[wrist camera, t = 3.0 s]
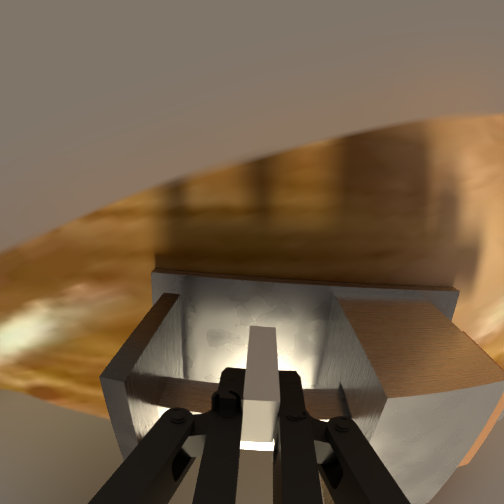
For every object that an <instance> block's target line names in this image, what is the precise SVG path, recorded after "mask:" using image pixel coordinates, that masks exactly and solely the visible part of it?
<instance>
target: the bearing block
mask: <svg viewBox="0 0 504 504" xmlns="http://www.w3.org/2000/svg"><path fill="white" fill-rule="evenodd" d="M151 278H152V300H153V306H154V304H155V303H156V302H157V300H158V299H159V298H160V297H161V295H162V294H163V293H173V294H180V302H181V337H182V359H183V377H184V379H188V380H196V381H204V382H213V383H219V381H220V377H221V372H222V371H223V370H224V369H225V368H226V367H232V368H244V369H246V362H247V351H248V341H249V330H250V326H264V327H276V339H277V354H278V370H287V371H296V372H297V373H298V374H299V375H300V377H301V382H302V388H305V389H343V390H344V393H345V396H346V400H347V403H348V406H349V409H350V412H351V416H352V420H353V421H354V422H355V423H356V424H357V425H358V427H359V428H360V430H361V431H362V433H363V434H364V436H365V437H366V439H367V440H368V442H369V443H370V445H371V446H372V447H373V449H374V450H375V452H376V453H377V455H378V456H379V458H380V459H381V461H382V462H383V464H384V465H385V467H386V468H387V470H388V471H389V472H390V474H391V475H392V477H393V478H394V480H395V481H396V483H397V484H398V486H399V487H400V489H401V490H402V492H403V493H404V494H405V496H406V497H407V499H408V500H409V502H410V503H411V504H425V503H428V502H429V501H430V500H431V499H432V498H433V497H434V495H435V494H436V493H437V492H438V491H439V490H440V488H441V487H442V486H443V485H444V483H445V482H446V481H447V480H448V478H449V477H450V476H451V475H452V473H453V472H454V471H455V469H456V468H457V467H458V465H459V464H460V463H461V461H462V460H463V458H464V457H465V455H466V454H467V453H468V451H469V450H470V448H471V447H472V445H473V444H474V442H475V441H476V439H477V438H478V436H479V434H480V433H481V431H482V430H483V428H484V426H485V425H486V423H487V421H488V420H489V418H490V416H491V415H492V413H493V411H494V409H495V407H496V406H497V404H498V402H499V400H500V398H501V396H502V394H503V392H504V372H503V371H502V370H501V369H500V368H499V367H498V366H497V365H496V364H495V363H494V362H493V361H492V360H491V359H490V358H489V357H488V356H487V355H486V354H485V353H484V352H483V351H482V350H481V349H480V348H479V347H478V346H477V345H476V344H475V343H474V342H473V341H472V340H471V339H470V338H469V337H467V336H466V335H465V334H464V333H463V332H462V331H461V330H460V329H459V328H458V327H457V326H456V325H455V324H454V323H452V322H451V321H452V317H453V314H454V310H455V307H456V303H457V300H458V296H459V292H460V291H458V290H457V289H456V288H453V287H426V286H402V285H381V284H362V283H344V282H327V281H311V280H296V279H281V278H267V277H253V276H240V275H227V274H214V273H202V272H190V271H179V270H168V269H157V268H155V269H154V270H153V271H152V272H151ZM320 477H321V475H320ZM321 484H322V490H323V497H324V504H335V503H334V501H333V499H332V497H331V495H330V493H329V491H328V489H327V487H326V485H325V483H324V481H323V479H322V477H321Z"/></svg>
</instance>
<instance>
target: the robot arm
mask: <svg viewBox="0 0 504 504" xmlns="http://www.w3.org/2000/svg"><path fill="white" fill-rule="evenodd" d="M241 441H243V442H257V443H273V441H274V448H273V453H272V459H271V461H273V504H323V502H322V495H321V487H320V480H319V473H320V475H321V477H322V479H323V481H324V483H325V485H326V487H327V489H328V491H329V493H330V495H331V497H332V499H333V501H334V503H335V504H411V503H410V502H409V500H408V499H407V497H406V496H405V494H404V493H403V492H402V490H401V489H400V487H399V486H398V484H397V483H396V481H395V480H394V478H393V477H392V475H391V474H390V472H389V471H388V470H387V468H386V467H385V465H384V464H383V462H382V461H381V459H380V458H379V456H378V455H377V453H376V452H375V450H374V449H373V447H372V446H371V445H370V443H369V442H368V440H367V439H366V437H365V436H364V434H363V433H362V431H361V430H360V428H359V427H358V425H357V424H356V423H355V422H354V421H353V420H352V419H350V418H348V417H344V416H336V417H333V418H331V419H330V420H329V421H328V422H326V421H321V420H318V419H315V418H313V417H311V416H310V415H309V412H308V411H306V408H305V401H304V394H303V388H302V382H301V377H300V375H299V374H298V373H297V372H296V371H287V370H278V354H277V339H276V327H264V326H250V330H249V341H248V351H247V362H246V369H244V368H232V367H226V368H225V369H224V370H223V371H222V372H221V377H220V381H219V386H218V390H217V391H216V392H214V393H213V395H212V396H211V410H210V411H208V412H205V413H202V414H192V413H191V412H190V411H189V410H187V409H185V408H180V407H176V408H171V409H168V410H166V411H165V412H164V413H163V414H162V415H161V417H160V418H159V419H158V420H157V422H156V423H155V424H154V425H153V427H152V428H151V429H150V430H149V431H148V433H147V434H146V435H145V436H144V438H143V439H142V440H141V441H140V442H139V444H138V445H137V446H136V447H135V449H134V450H133V451H132V452H131V453H130V455H129V456H128V457H127V458H126V459H125V461H124V462H123V463H122V464H121V465H120V467H119V468H118V469H117V470H116V471H115V472H114V474H113V475H112V476H111V477H110V479H109V480H108V481H107V482H106V483H105V484H104V485H103V487H102V488H101V489H100V490H99V491H98V492H97V494H96V495H95V496H94V497H93V498H92V500H91V501H90V502H89V503H88V504H168V503H169V501H170V499H171V498H172V496H173V494H174V493H175V491H176V490H177V488H178V487H179V485H180V483H181V482H182V480H183V478H184V477H185V475H186V474H187V472H188V470H189V469H190V467H191V465H192V464H193V462H194V460H195V458H196V457H199V456H202V459H201V464H200V468H199V473H198V478H197V483H196V488H195V493H194V498H193V503H192V504H235V502H236V491H237V480H238V479H237V478H238V469H239V457H240V445H241ZM318 470H319V472H318Z"/></svg>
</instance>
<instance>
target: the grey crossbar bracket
mask: <svg viewBox="0 0 504 504" xmlns="http://www.w3.org/2000/svg"><path fill="white" fill-rule="evenodd" d="M99 377H100V382H101V386H102V390H103V394H104V398H105V401H106V405H107V409H108V412H109V416H110V419H111V423H112V426H113V429H114V432H115V435H116V438H117V442H118V444H119V447H120V451H121V454H122V456H123V459H124V461H125V459H126V458H127V457H128V456H129V455H130V453H131V452H132V451H133V450H134V449H135V447H136V446H137V445H138V444H139V442H140V441H141V440H142V439H143V438H144V436H145V435H146V434H147V433H148V431H149V430H150V429H151V428H152V427H153V425H154V424H155V423H156V422H157V420H158V419H159V418H160V417H161V415H162V414H163V413H164V412H165V411H166V410H168V409H171V408H176V407H180V408H185V409H187V410H189V411H190V412H191V413H192V414H202V413H205V412H208V411H210V410H211V396H212V395H213V393H214V392H216V391H217V390H218V386H219V383H213V382H204V381H196V380H188V379H184V377H183V359H182V337H181V302H180V294H173V293H163V294H162V295H161V297H160V298H159V299H158V300H157V302H156V303H155V304H154V306H153V307H152V308H151V309H150V311H149V312H148V313H147V314H146V316H145V317H144V318H143V320H142V321H141V322H140V323H139V325H138V326H137V327H136V329H135V330H134V331H133V333H132V334H131V335H130V336H129V338H128V339H127V340H126V342H125V343H124V344H123V346H122V347H121V348H120V350H119V351H118V352H117V354H116V355H115V356H114V358H113V359H112V360H111V362H110V363H109V364H108V366H107V367H106V368H105V370H104V371H103V372H102V374H101V375H100V376H99ZM303 394H304V401H305V408H306V411H308V412H309V415H310V416H311V417H313V418H315V419H318V420H321V421H326V422H328V421H329V420H330V419H331V418H333V417H336V416H344V417H348V418H350V419H352V416H351V412H350V409H349V406H348V403H347V400H346V396H345V393H344V390H343V389H305V388H303ZM503 416H504V409H503V411H502V412H501V414H500V416H499V418H498V419H497V421H499V420H501V419H502V418H503ZM273 448H274V441H273V443H257V442H243V441H241V445H240V449H252V450H270V451H273Z"/></svg>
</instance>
